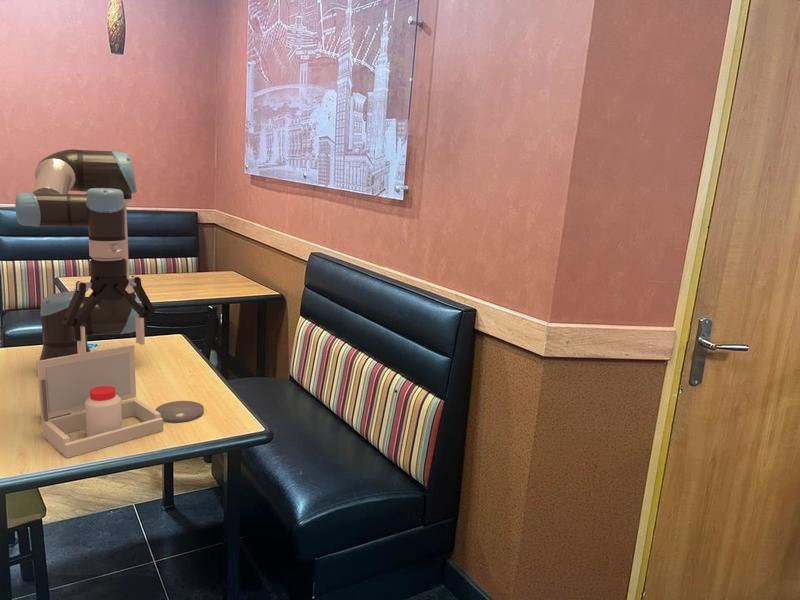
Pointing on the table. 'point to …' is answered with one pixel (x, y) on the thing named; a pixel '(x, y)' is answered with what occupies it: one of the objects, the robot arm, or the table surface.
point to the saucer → (180, 411)
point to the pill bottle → (103, 411)
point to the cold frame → (70, 388)
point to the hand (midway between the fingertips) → (112, 348)
